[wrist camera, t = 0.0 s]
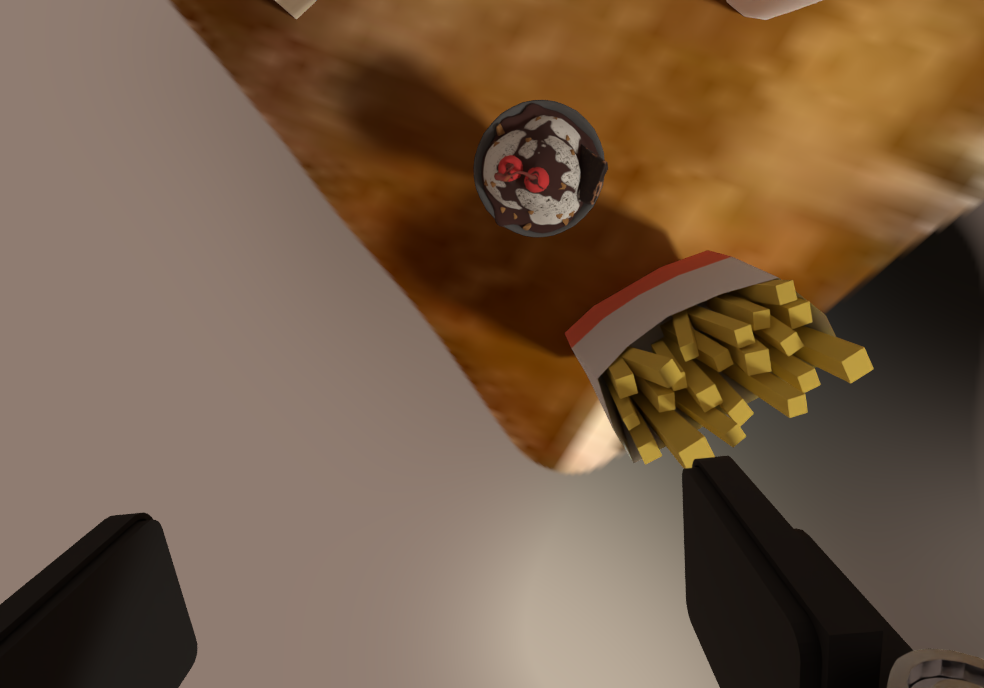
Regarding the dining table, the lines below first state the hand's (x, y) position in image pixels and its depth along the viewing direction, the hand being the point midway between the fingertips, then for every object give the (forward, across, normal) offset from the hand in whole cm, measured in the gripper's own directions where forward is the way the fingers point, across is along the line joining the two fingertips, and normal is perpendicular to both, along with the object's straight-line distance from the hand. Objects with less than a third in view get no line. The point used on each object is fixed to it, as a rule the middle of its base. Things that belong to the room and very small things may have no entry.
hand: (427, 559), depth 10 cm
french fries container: (+31, -11, +3) cm, 33 cm away
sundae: (+31, -4, -7) cm, 32 cm away
